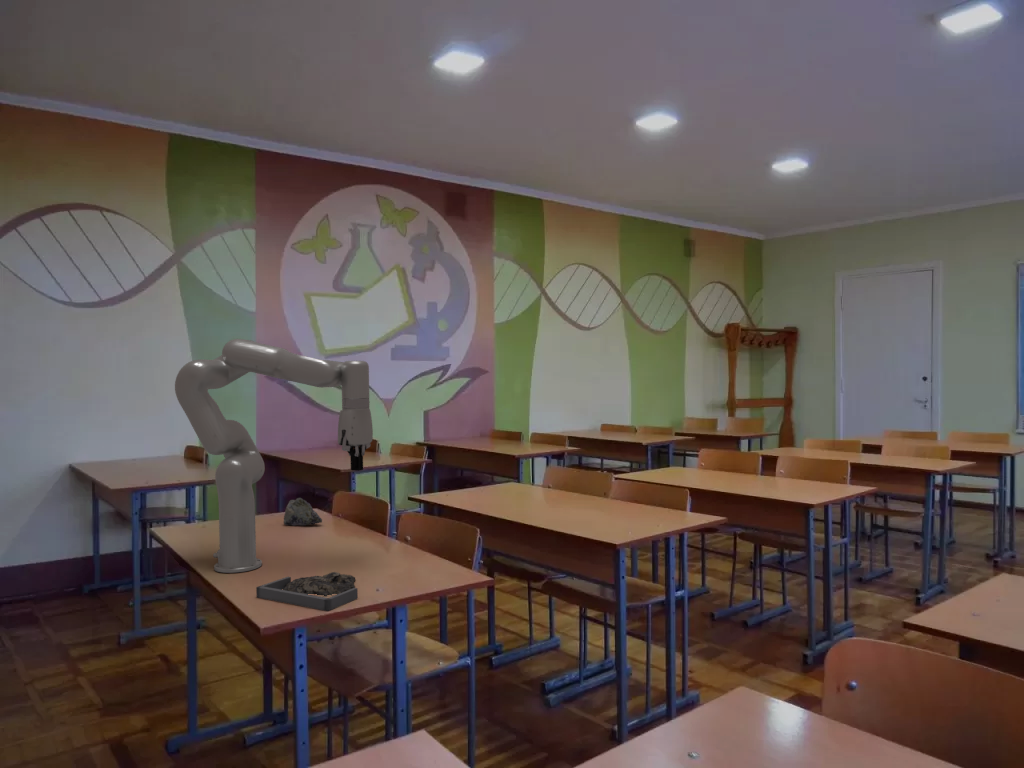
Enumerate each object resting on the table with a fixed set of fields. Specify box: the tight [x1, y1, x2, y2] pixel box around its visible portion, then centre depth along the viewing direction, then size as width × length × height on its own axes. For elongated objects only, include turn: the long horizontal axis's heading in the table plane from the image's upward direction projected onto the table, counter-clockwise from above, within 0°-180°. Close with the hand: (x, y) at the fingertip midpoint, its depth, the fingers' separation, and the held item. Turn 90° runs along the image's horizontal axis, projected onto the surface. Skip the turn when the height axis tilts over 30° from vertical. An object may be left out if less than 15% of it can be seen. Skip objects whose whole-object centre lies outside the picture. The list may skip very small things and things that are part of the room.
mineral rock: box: [283, 497, 323, 527], centre depth 260 cm, size 13×11×10 cm
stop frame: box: [255, 576, 359, 612], centre depth 175 cm, size 23×10×2 cm, turn 61°
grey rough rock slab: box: [283, 571, 356, 597], centre depth 183 cm, size 19×4×15 cm
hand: (356, 470), depth 203 cm, fingers closed
